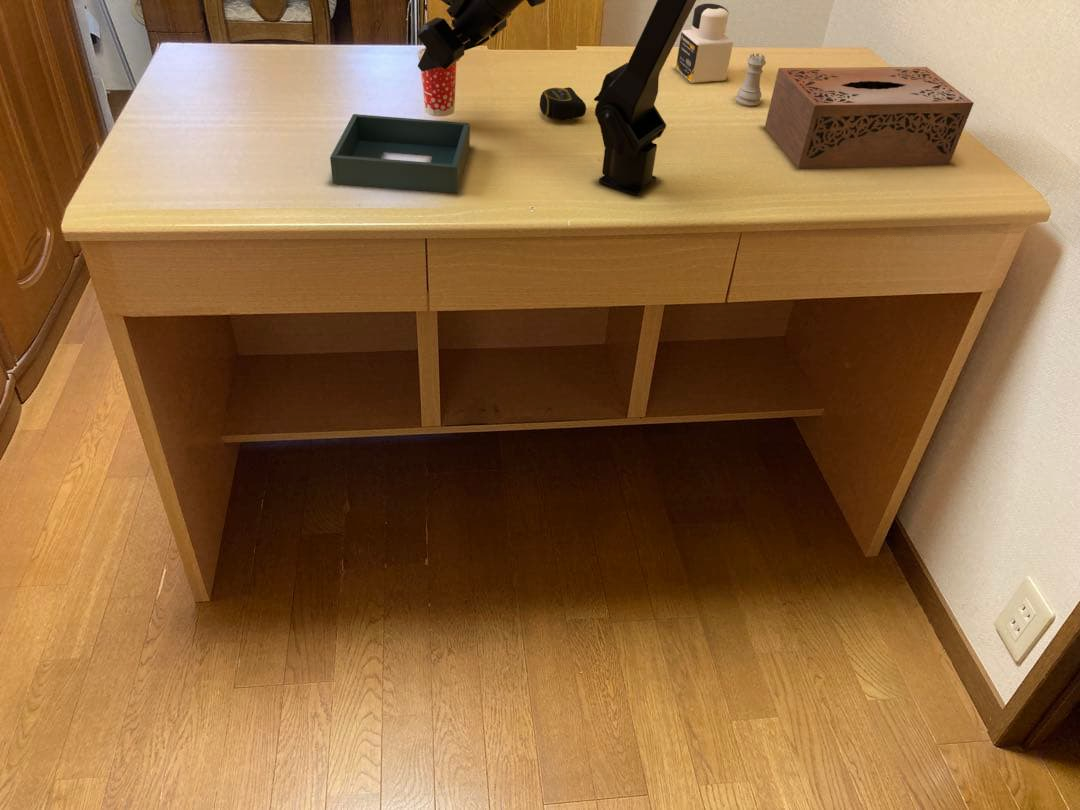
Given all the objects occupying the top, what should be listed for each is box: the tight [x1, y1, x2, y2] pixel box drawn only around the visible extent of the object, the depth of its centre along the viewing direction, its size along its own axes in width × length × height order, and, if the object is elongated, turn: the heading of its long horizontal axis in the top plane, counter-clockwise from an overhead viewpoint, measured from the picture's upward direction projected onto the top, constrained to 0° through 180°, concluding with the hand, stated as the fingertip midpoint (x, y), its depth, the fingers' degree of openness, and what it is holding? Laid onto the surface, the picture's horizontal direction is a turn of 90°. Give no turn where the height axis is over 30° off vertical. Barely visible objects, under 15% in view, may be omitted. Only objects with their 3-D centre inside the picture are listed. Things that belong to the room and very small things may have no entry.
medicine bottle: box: [675, 3, 734, 84], centre depth 156 cm, size 7×7×12 cm
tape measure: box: [539, 86, 587, 121], centre depth 142 cm, size 7×7×4 cm
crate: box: [329, 113, 471, 194], centre depth 126 cm, size 18×15×4 cm
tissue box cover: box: [764, 66, 975, 170], centre depth 137 cm, size 26×14×10 cm, turn 100°
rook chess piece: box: [735, 53, 767, 107], centre depth 149 cm, size 4×4×8 cm
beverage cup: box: [417, 46, 457, 118], centre depth 132 cm, size 6×6×14 cm
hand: (430, 61), depth 132 cm, fingers closed on beverage cup, 6 cm apart
